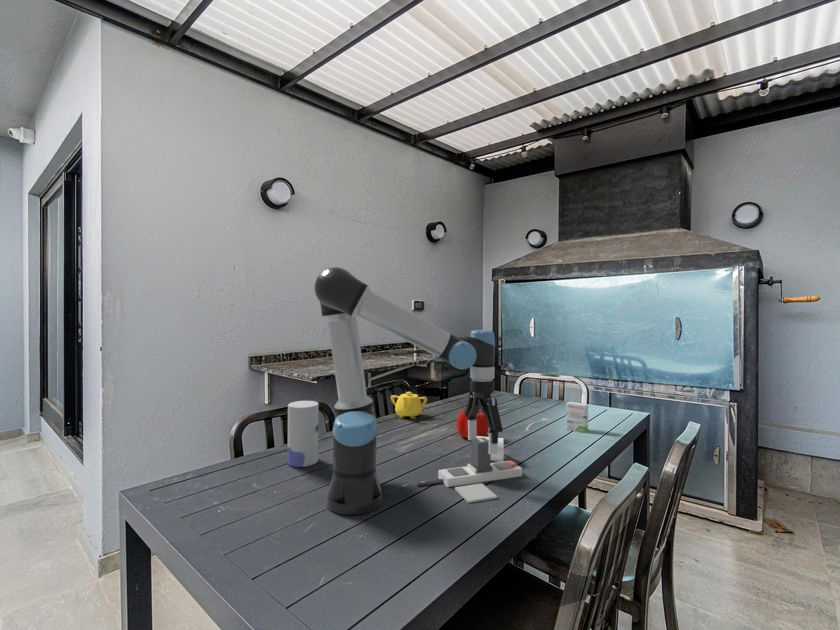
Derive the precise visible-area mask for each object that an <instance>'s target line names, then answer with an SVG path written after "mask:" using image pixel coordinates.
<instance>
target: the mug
mask: <svg viewBox="0 0 840 630" xmlns="http://www.w3.org/2000/svg"><path fill="white" fill-rule="evenodd" d="M477 438H486V439H487V440H489V436H484V437H483V436H477ZM504 447H505V439H504V437H498V453H497V454H491V462H503V461H504V453H505V451H504V449H505V448H504Z"/></svg>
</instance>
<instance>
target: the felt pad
mask: <svg viewBox="0 0 840 630" xmlns="http://www.w3.org/2000/svg"><path fill="white" fill-rule="evenodd" d="M454 490H455V491H456V493H458V494H459V495H460V496H461V497H462V498H463V499H464V500H465V501H466V502H467V503H468V504H471V503H472V504H473V503H477V502H478V503H479V502H483V501H490V500H496V499H498V495H496V494H495V493H494V492H493V491H492V490H490V489H489V488H488V487H487V486H486V485H484V483H483V482H479V483H473V484H466V485H459V486H454Z"/></svg>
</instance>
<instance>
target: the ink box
mask: <svg viewBox="0 0 840 630" xmlns="http://www.w3.org/2000/svg"><path fill="white" fill-rule="evenodd" d="M565 430H567V431H573V432H579V433H587V432H588V431H589V404H588V403H583V402H576V401H575V402H574V401H568V402H566V404H565Z"/></svg>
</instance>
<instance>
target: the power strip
mask: <svg viewBox="0 0 840 630" xmlns="http://www.w3.org/2000/svg"><path fill="white" fill-rule="evenodd" d="M517 464H518V463H516V462H515V461H513V460H503V462H497V461H495V462H490V470H489V471H482V472H477V469H475V468H474V467H473V466H472V465H471V464H470V463H467V464H466V466H459V467H449V468H443V469H438V471H437V472H438V474H437V476H438V479H432V480H424V481H423V480H422V481H418V482H416V486H417V487H420V486H425V485H426V486H427V485H434V484H440V483H443V484H444V486H446V488H450V487H460V486H467V485H473V484H480V483H485V482H492V481H497V480H505V479H512V478H518V477H523V468H522V467H521V466H520V465H517Z"/></svg>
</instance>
